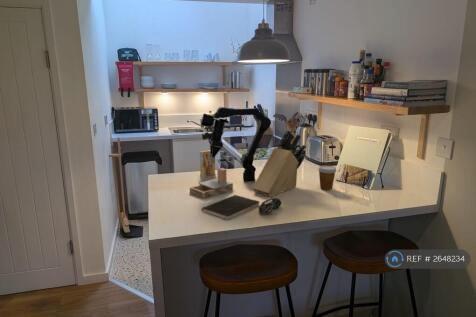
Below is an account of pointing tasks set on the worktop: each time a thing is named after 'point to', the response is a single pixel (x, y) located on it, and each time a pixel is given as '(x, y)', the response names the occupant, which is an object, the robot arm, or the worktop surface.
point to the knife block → (280, 167)
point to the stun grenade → (269, 206)
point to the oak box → (208, 191)
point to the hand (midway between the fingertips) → (212, 155)
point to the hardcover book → (230, 206)
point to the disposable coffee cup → (326, 177)
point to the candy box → (207, 163)
